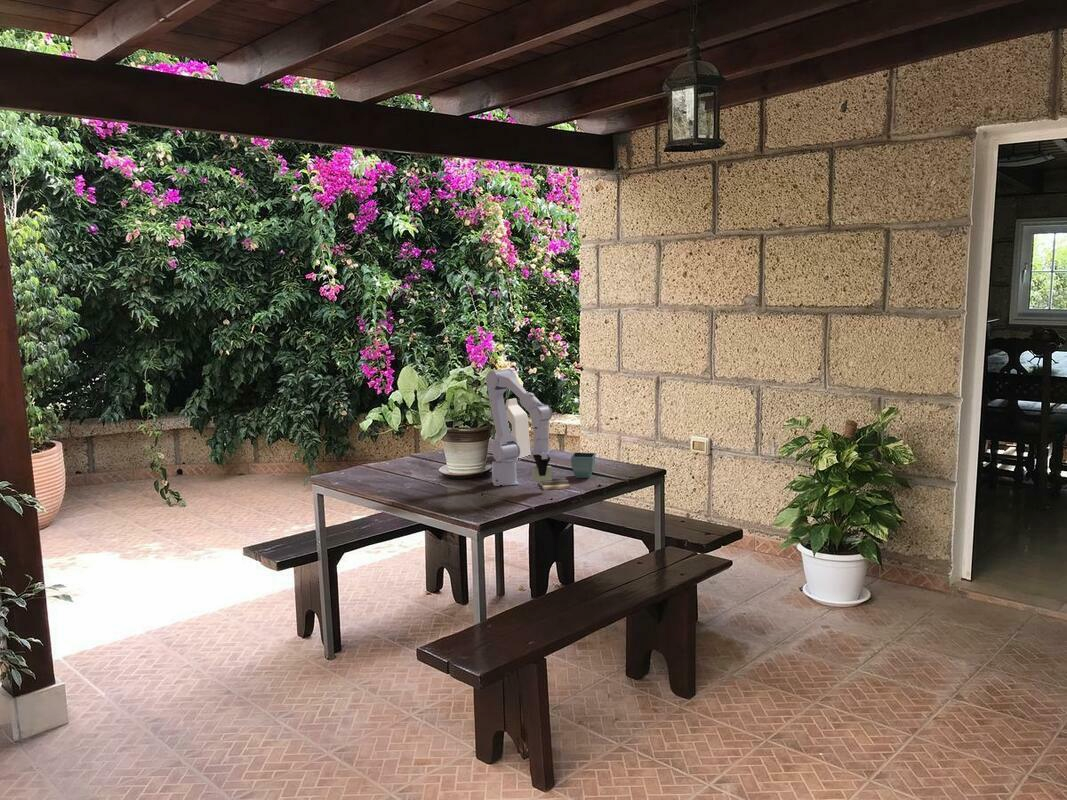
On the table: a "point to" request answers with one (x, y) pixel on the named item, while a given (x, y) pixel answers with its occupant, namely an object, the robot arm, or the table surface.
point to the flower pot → (583, 464)
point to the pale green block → (541, 478)
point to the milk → (518, 426)
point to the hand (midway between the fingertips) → (541, 474)
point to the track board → (555, 484)
